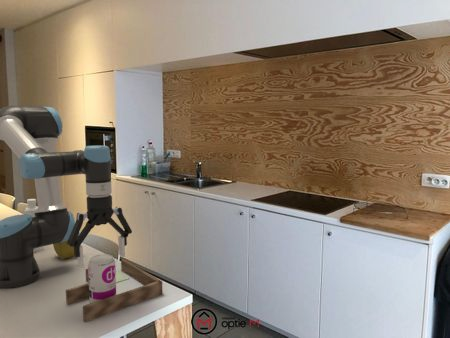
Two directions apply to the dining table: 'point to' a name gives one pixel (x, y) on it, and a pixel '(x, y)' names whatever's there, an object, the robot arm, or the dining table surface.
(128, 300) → the channel walls
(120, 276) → the pad
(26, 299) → the dining table surface
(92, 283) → the supplement can
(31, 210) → the spray bottle
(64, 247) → the flower pot
